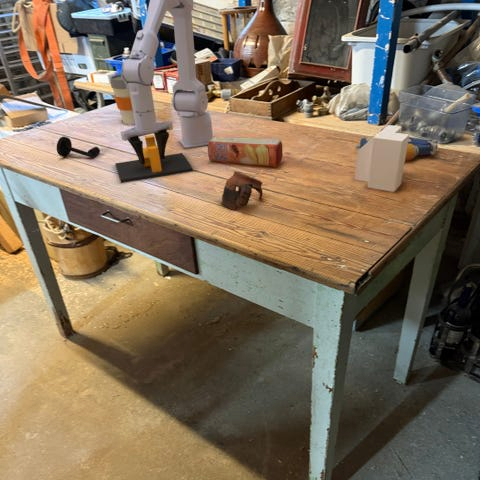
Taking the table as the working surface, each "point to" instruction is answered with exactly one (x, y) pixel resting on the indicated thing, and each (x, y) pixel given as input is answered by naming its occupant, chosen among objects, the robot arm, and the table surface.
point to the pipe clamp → (152, 154)
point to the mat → (139, 171)
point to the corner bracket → (383, 159)
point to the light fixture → (66, 147)
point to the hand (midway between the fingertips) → (152, 160)
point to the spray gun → (412, 146)
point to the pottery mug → (240, 190)
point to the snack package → (245, 151)
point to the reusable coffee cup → (122, 99)
